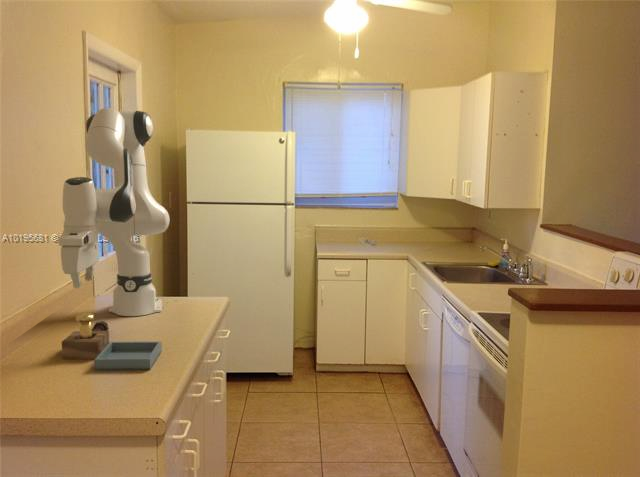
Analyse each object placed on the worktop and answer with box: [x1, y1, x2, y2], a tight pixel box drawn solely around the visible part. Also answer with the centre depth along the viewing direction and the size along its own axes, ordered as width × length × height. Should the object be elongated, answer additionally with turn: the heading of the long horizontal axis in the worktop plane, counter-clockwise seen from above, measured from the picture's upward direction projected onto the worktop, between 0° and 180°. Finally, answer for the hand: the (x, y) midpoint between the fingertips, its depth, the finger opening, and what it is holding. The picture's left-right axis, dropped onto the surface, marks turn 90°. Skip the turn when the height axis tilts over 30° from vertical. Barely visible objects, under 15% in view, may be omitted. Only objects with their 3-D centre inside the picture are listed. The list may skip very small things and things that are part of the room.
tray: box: [94, 341, 163, 371], centre depth 161 cm, size 15×15×3 cm
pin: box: [75, 312, 95, 339], centre depth 166 cm, size 5×5×11 cm
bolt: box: [91, 321, 109, 331], centre depth 180 cm, size 6×5×15 cm
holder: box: [61, 330, 110, 360], centre depth 167 cm, size 10×10×5 cm
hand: (83, 283), depth 164 cm, fingers open, 8 cm apart
